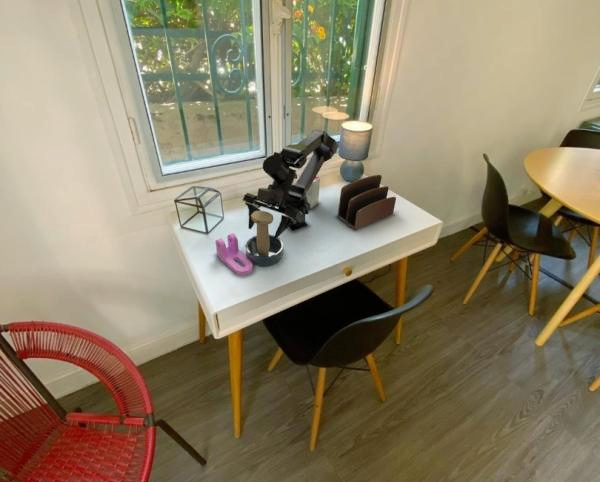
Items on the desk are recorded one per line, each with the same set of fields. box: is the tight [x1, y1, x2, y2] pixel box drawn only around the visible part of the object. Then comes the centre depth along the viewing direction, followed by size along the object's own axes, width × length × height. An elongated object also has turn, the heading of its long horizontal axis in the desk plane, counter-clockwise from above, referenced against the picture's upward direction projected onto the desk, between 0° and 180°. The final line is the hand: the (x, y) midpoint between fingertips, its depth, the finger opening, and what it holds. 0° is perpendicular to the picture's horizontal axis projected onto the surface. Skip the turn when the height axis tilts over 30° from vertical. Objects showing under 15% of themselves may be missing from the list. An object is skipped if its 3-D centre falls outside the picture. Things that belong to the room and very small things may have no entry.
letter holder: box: [337, 174, 397, 231], centre depth 122 cm, size 10×20×14 cm, turn 124°
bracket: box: [215, 232, 254, 276], centre depth 100 cm, size 13×6×7 cm, turn 42°
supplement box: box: [307, 176, 321, 210], centre depth 128 cm, size 6×6×12 cm
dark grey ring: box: [245, 233, 284, 268], centre depth 104 cm, size 12×12×4 cm
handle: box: [251, 210, 274, 256], centre depth 100 cm, size 5×6×15 cm
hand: (262, 233), depth 99 cm, fingers open, 9 cm apart
